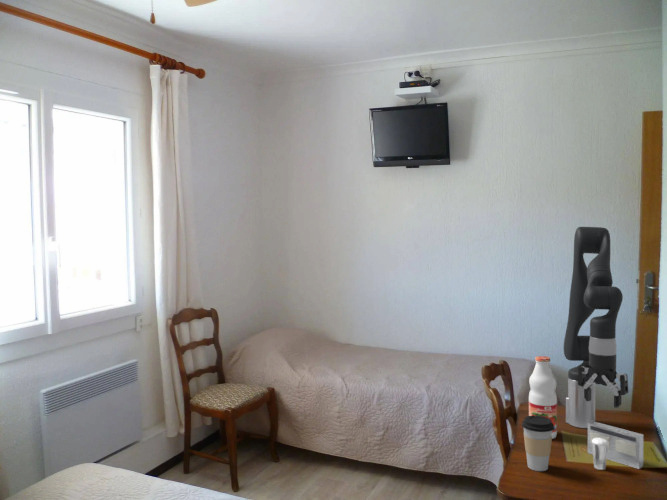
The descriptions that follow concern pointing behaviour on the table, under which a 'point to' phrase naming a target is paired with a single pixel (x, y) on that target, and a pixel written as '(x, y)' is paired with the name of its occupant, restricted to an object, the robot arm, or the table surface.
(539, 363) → the fruit juice
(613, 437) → the panel
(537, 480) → the table surface
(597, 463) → the milkshake
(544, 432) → the coffee cup
